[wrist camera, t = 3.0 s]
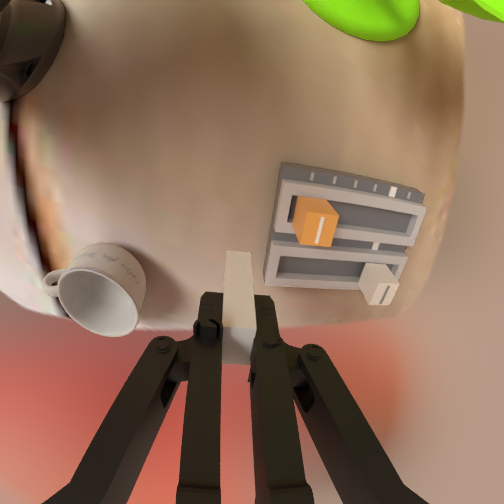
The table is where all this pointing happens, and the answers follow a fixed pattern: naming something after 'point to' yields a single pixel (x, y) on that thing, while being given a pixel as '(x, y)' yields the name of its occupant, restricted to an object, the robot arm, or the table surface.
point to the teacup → (101, 289)
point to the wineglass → (392, 15)
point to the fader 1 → (314, 221)
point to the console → (341, 228)
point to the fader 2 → (377, 283)
